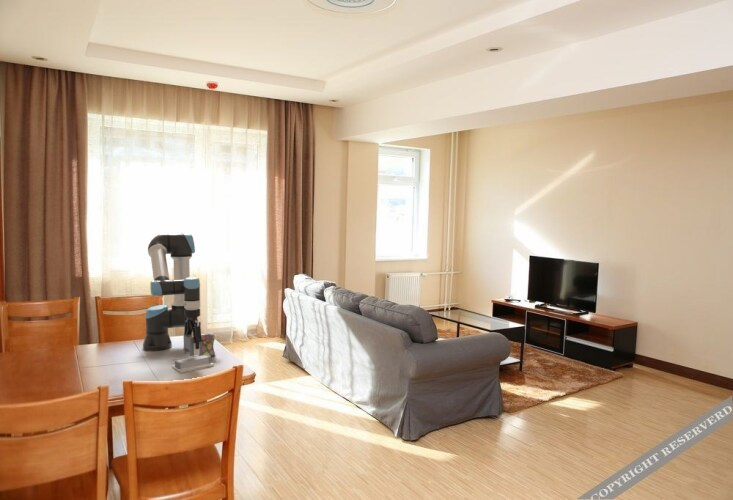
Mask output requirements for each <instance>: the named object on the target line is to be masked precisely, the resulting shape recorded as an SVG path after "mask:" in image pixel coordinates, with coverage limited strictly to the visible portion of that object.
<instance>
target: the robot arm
mask: <svg viewBox="0 0 733 500" xmlns="http://www.w3.org/2000/svg"><path fill="white" fill-rule="evenodd" d="M195 253H196V247H195V241H194V237H193V235H192V234H191V233H190V232H189V233H187V232H174V233H173V232H171V233H166V232H163V233H160V234H158V235H156V236H154V237H153V238H152V239H151V241H150V242H149V244H148V246H147V254H148V256H149V257H150V261H151V269H152V278H153V280H152V281H151V282H150V295H151V296H153V297H154V296H155V297H156V296H159V297H161V296H172V295H174V297H173V298H174V299H173V302H172V303H171V307H169V306H168V305H166V304H160V305H154V306H151V307H148V308H147V309H145V310H146V311H145V337H144V340H143V343H142V349H143V350H145V351H153V352H154V351H156V352H157V351H163V350H167V349H170V348H172V346H173V345H172V344H173V343H172V339H171V337H170V335H169V329H172V328H173V329H174V328H184V331H183V336H184V335H189V334H193V337H194V342H193V343H194V356H193V357H197V356H199V355H200V348H199V342H201V341H202V338H201V335H202V331H201V329H202V328H201V321H199V320H198V317H200V316H201V309H200V308H201V296H200V295H201V282H200V278H199V277H195V276H193V277H191V276H190V274H191V272H190V271H191V269H190V260H191V258H192V257H193V254H195ZM166 255H170V258H171V259H172V261H173V279H171V278H170V274H169V269H168V261H167V256H166Z"/></svg>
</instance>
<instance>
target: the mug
mask: <svg viewBox="0 0 733 500" xmlns="http://www.w3.org/2000/svg"><path fill="white" fill-rule="evenodd" d="M201 337H202V354H201V355H198V356H203V355H205V354H207V355H209V356H211V357H213V356H215V355H216V351H215V349H214V348H215V347H214V343H215V341H216V340H215V339H216V338H217V335H216V334H209V333H206V334H201Z"/></svg>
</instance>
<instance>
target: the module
mask: <svg viewBox="0 0 733 500" xmlns="http://www.w3.org/2000/svg"><path fill="white" fill-rule="evenodd" d="M201 338H202V337H201ZM193 342H194V337H193V333H192V334H189V335H184V334H183V353H184V354H188V353H189V357H195V356H194V343H193ZM199 348H200V355H201V354H202V341H201V342H199Z"/></svg>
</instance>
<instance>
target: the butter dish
mask: <svg viewBox="0 0 733 500" xmlns="http://www.w3.org/2000/svg"><path fill="white" fill-rule="evenodd" d="M214 366H215V364H214V363H213V362H212V356H209V355H207V354H205V355H203V356H199V355H197V356H192V357H188V358H184V359H178V360H177V359H175V360H174V364H172V365H171V368H172V369H174V370H175V371H177V372H179V373H180V374H182V373H187V372H191V371H196V370H201V369H205V368H210V367H214Z"/></svg>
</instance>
